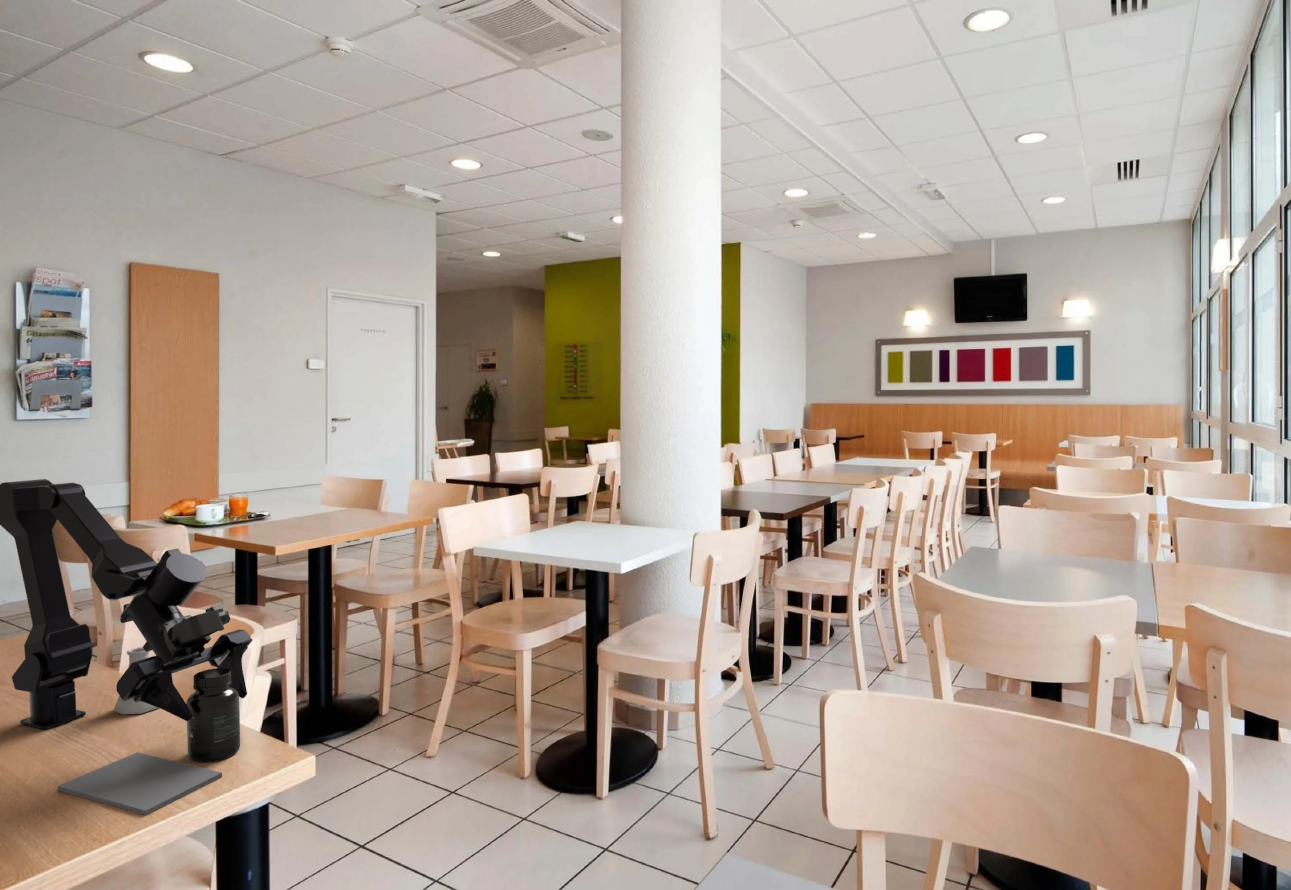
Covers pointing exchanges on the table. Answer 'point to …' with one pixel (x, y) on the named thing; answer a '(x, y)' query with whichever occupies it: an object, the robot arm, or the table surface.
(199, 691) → the supplement bottle
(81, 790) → the placemat
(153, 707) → the flask
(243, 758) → the table surface
